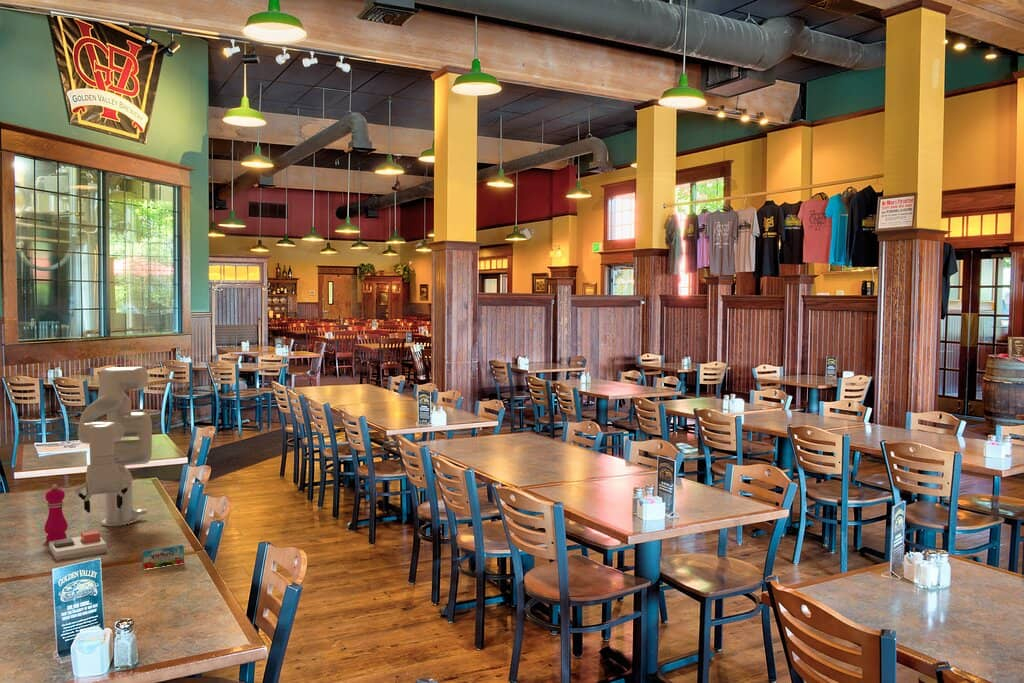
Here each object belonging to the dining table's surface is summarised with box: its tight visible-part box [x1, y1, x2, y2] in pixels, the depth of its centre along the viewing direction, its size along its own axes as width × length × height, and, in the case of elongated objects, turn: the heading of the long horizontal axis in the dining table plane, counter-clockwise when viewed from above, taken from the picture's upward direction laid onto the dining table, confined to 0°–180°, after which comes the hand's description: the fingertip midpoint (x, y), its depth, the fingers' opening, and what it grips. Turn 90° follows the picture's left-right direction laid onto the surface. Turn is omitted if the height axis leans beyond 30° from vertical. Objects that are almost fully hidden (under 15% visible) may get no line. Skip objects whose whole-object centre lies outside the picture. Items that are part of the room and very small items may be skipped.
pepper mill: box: [44, 483, 69, 543], centre depth 287 cm, size 7×7×20 cm
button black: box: [54, 537, 74, 548], centre depth 271 cm, size 5×5×2 cm
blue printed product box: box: [141, 544, 185, 570], centre depth 256 cm, size 12×2×6 cm, turn 120°
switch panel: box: [48, 535, 108, 561], centre depth 274 cm, size 15×15×3 cm
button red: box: [80, 529, 101, 543], centre depth 276 cm, size 5×5×2 cm
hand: (103, 509), depth 278 cm, fingers open, 9 cm apart
